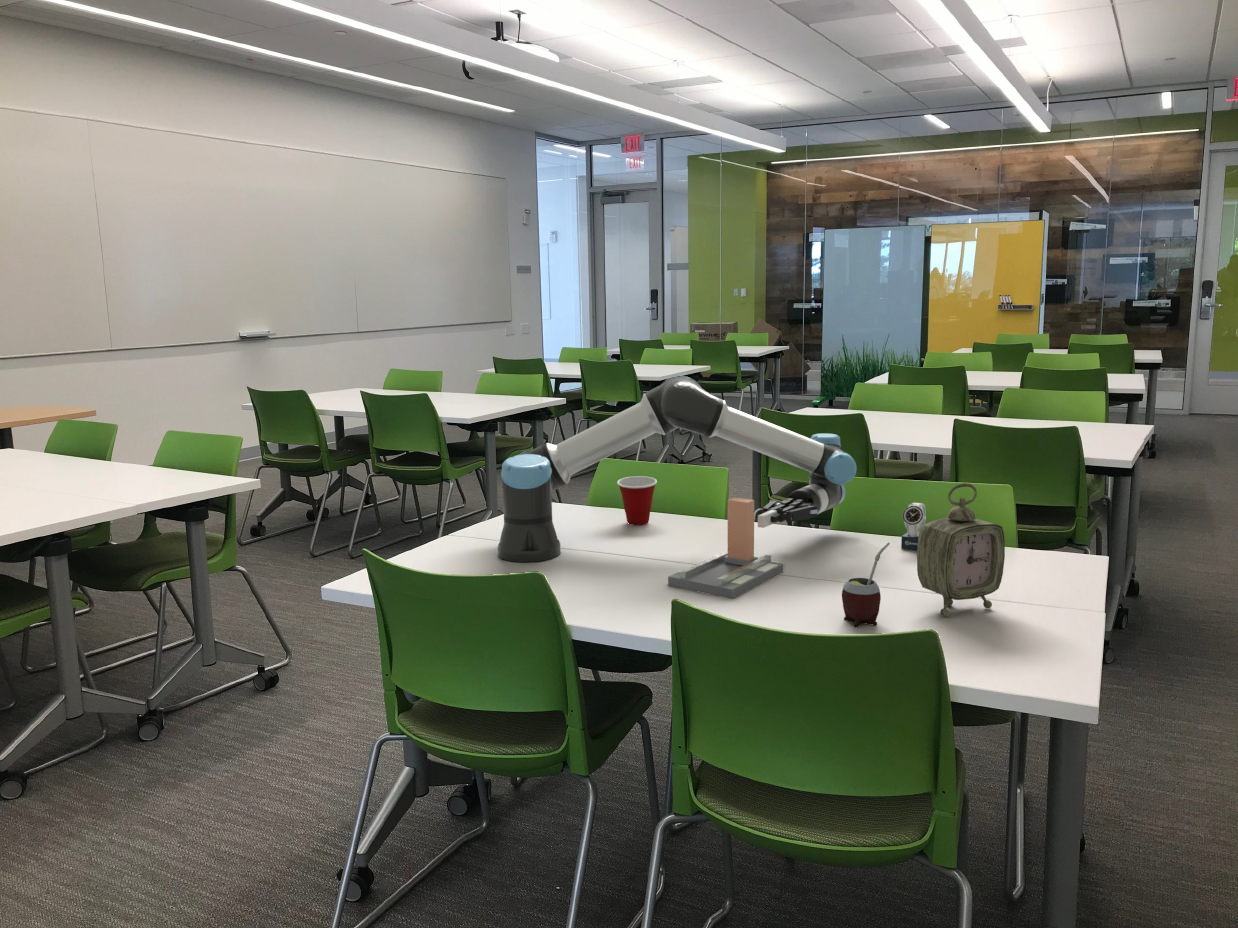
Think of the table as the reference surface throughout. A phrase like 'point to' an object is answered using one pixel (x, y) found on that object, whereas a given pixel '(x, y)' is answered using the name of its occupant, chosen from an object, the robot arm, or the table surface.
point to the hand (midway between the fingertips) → (760, 521)
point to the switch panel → (725, 576)
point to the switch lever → (740, 531)
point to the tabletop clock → (961, 555)
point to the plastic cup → (637, 498)
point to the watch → (913, 525)
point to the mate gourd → (862, 598)
